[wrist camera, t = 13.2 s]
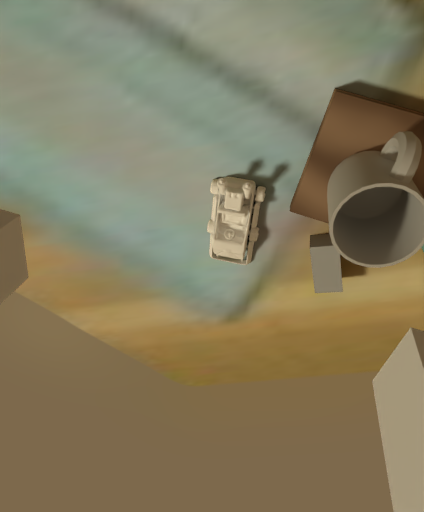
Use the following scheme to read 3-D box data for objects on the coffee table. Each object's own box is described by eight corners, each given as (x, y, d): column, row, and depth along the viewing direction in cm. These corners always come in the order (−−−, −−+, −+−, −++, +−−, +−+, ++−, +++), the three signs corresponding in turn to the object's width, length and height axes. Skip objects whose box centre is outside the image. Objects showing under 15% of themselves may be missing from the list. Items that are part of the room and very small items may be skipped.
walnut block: (334, 88, 34) (335, 91, 32) (466, 125, 33) (473, 130, 31) (290, 203, 41) (289, 211, 39) (398, 237, 40) (402, 246, 38)
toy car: (206, 255, 47) (197, 273, 44) (214, 163, 41) (204, 176, 37) (254, 264, 46) (248, 284, 43) (269, 171, 40) (265, 186, 36)
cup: (314, 205, 38) (314, 249, 31) (362, 107, 32) (375, 131, 25) (382, 229, 38) (398, 279, 30) (442, 134, 32) (479, 166, 25)
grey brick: (310, 234, 42) (309, 247, 40) (337, 231, 41) (339, 245, 39) (315, 278, 45) (315, 292, 43) (341, 276, 44) (342, 291, 42)
